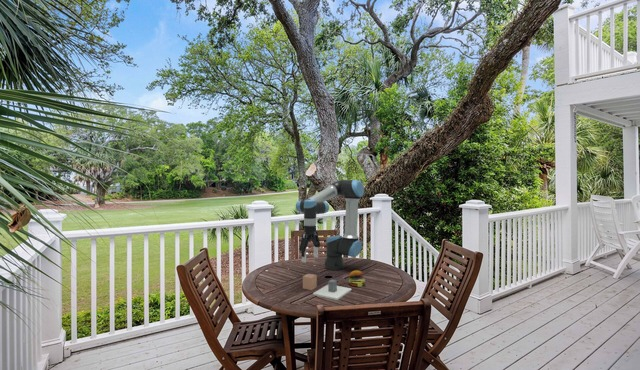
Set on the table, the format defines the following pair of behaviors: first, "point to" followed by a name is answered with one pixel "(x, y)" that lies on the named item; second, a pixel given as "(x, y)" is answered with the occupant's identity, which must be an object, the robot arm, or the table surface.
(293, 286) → the table surface
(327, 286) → the post board
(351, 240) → the robot arm
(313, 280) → the tan wooden block
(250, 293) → the table surface
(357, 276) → the cheeseburger
